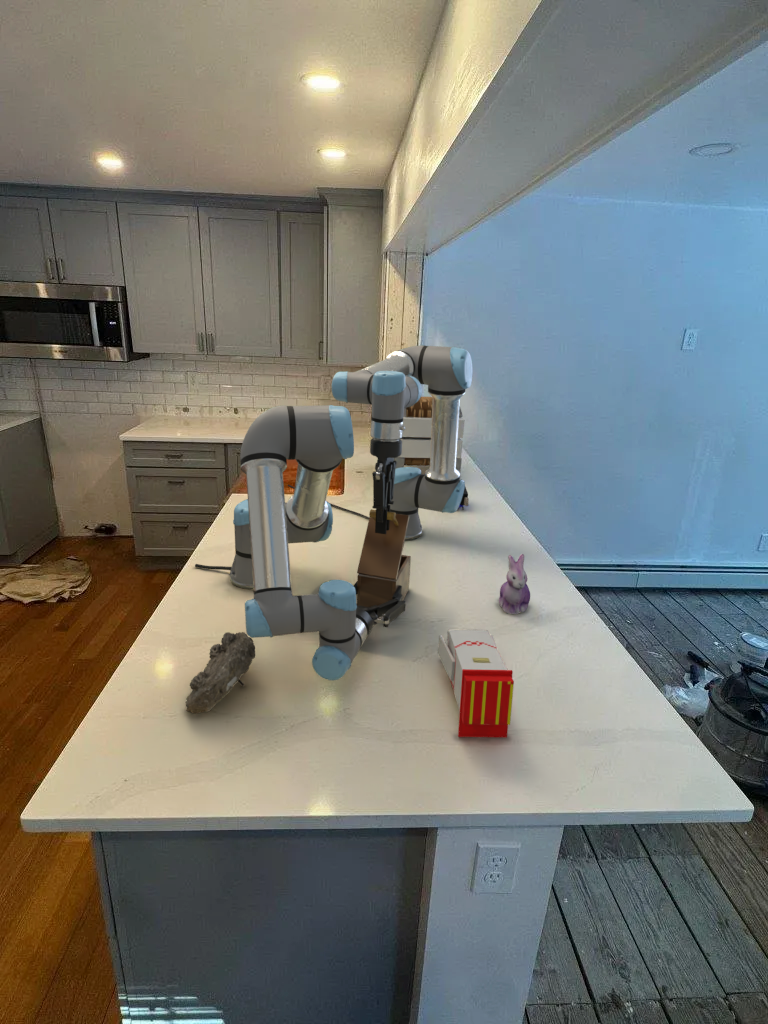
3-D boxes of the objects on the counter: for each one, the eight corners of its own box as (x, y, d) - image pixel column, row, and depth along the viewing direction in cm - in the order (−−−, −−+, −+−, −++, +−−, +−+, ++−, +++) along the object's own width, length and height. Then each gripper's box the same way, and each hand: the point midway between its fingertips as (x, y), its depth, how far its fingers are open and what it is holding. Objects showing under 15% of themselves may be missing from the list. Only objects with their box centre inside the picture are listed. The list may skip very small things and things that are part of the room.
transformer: (382, 463, 289) (386, 382, 275) (445, 464, 293) (451, 384, 279) (390, 482, 257) (394, 392, 243) (460, 483, 261) (468, 394, 247)
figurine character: (468, 514, 225) (463, 498, 239) (470, 497, 222) (465, 482, 235) (451, 514, 225) (447, 498, 238) (453, 497, 222) (449, 481, 235)
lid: (371, 511, 150) (364, 499, 142) (409, 516, 147) (404, 504, 139) (357, 573, 145) (349, 564, 137) (396, 580, 142) (390, 571, 134)
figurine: (512, 619, 147) (519, 566, 142) (488, 601, 156) (494, 551, 151) (540, 611, 151) (548, 560, 146) (515, 594, 160) (522, 546, 155)
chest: (374, 583, 163) (375, 550, 159) (408, 589, 160) (410, 556, 157) (356, 611, 148) (357, 575, 144) (394, 618, 146) (396, 581, 142)
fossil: (206, 634, 127) (255, 603, 122) (236, 663, 130) (284, 634, 125) (163, 707, 107) (218, 674, 102) (199, 739, 110) (254, 708, 105)
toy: (488, 613, 130) (523, 677, 101) (484, 667, 133) (517, 744, 104) (435, 612, 130) (455, 676, 101) (432, 666, 133) (451, 743, 103)
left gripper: (305, 634, 132) (338, 592, 152) (400, 653, 126) (421, 607, 146) (305, 606, 129) (338, 567, 149) (402, 623, 123) (423, 580, 144)
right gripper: (393, 446, 126) (388, 544, 134) (409, 434, 140) (403, 523, 148) (361, 443, 128) (358, 539, 136) (380, 431, 142) (376, 519, 150)
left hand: (379, 586), depth 148 cm, fingers closed on chest, 10 cm apart
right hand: (382, 530), depth 142 cm, fingers closed on lid, 2 cm apart
